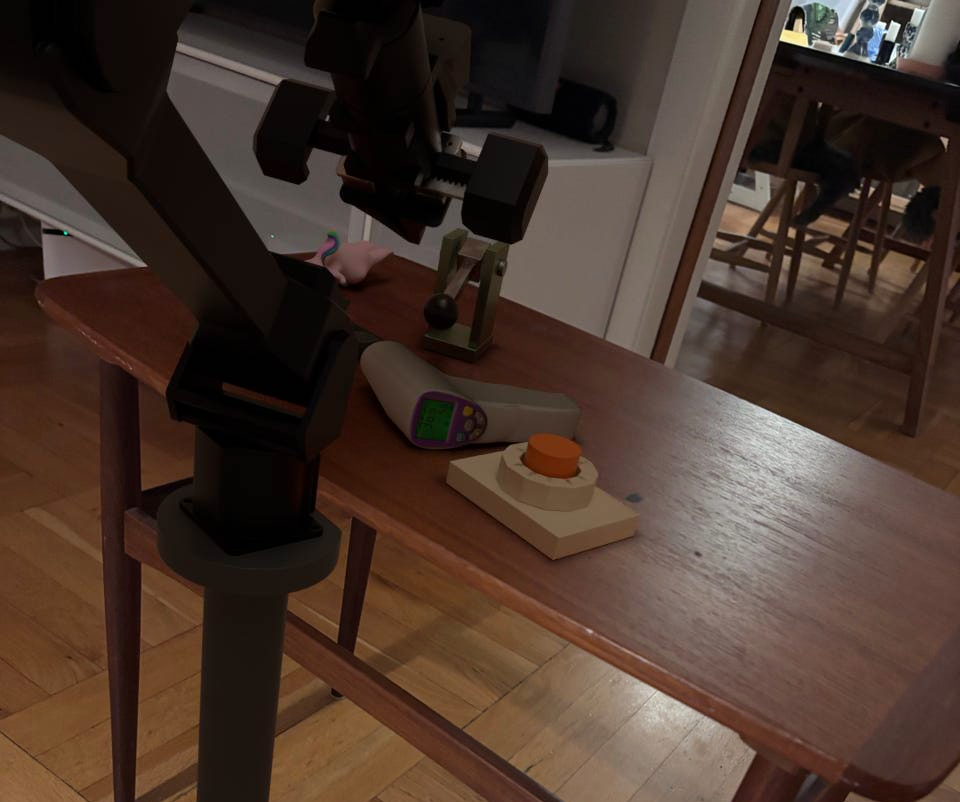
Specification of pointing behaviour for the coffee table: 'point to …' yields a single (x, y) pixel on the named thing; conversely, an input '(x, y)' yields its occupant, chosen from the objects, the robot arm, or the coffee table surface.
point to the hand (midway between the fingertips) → (416, 238)
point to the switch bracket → (478, 337)
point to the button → (552, 456)
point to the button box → (543, 502)
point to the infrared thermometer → (460, 403)
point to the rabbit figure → (349, 258)
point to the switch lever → (456, 285)
